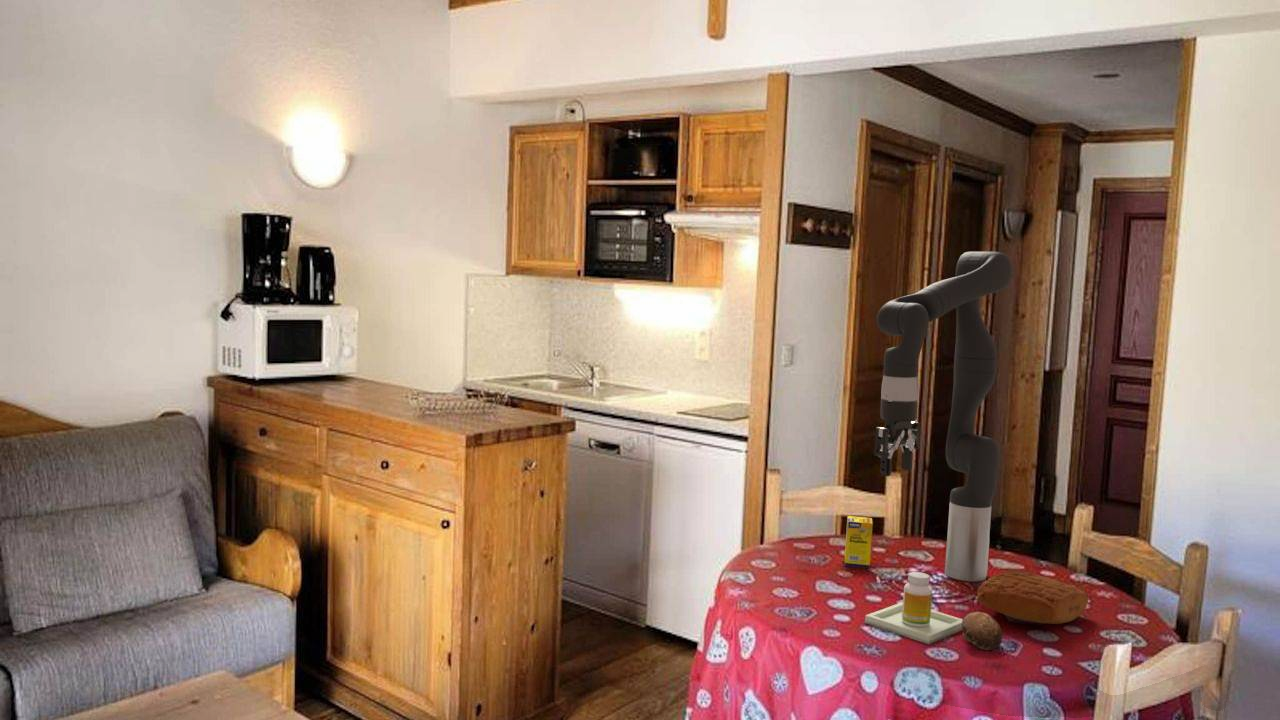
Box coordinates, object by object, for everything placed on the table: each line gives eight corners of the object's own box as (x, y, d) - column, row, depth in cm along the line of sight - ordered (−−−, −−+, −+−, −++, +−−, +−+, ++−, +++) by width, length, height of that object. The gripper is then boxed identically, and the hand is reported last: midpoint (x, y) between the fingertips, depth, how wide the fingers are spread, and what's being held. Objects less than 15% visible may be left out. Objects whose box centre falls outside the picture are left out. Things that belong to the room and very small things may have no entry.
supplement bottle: (933, 628, 191) (936, 579, 190) (905, 626, 191) (908, 578, 191) (925, 618, 197) (929, 571, 196) (898, 617, 197) (902, 570, 196)
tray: (903, 609, 204) (904, 601, 204) (966, 628, 194) (966, 620, 193) (865, 623, 194) (865, 615, 194) (928, 644, 184) (929, 636, 184)
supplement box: (870, 568, 232) (873, 523, 231) (844, 566, 233) (847, 521, 232) (869, 562, 238) (872, 517, 237) (844, 559, 239) (847, 515, 238)
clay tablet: (1051, 643, 188) (1054, 602, 187) (966, 619, 199) (969, 580, 199) (1094, 618, 203) (1097, 580, 203) (1013, 597, 215) (1015, 561, 215)
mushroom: (949, 618, 189) (968, 598, 186) (985, 634, 190) (1004, 614, 187) (954, 650, 183) (974, 631, 179) (991, 667, 184) (1012, 647, 180)
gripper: (901, 392, 215) (897, 465, 216) (865, 398, 205) (862, 474, 206) (932, 396, 210) (928, 471, 211) (897, 402, 199) (894, 480, 201)
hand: (896, 472), depth 209 cm, fingers open, 8 cm apart
